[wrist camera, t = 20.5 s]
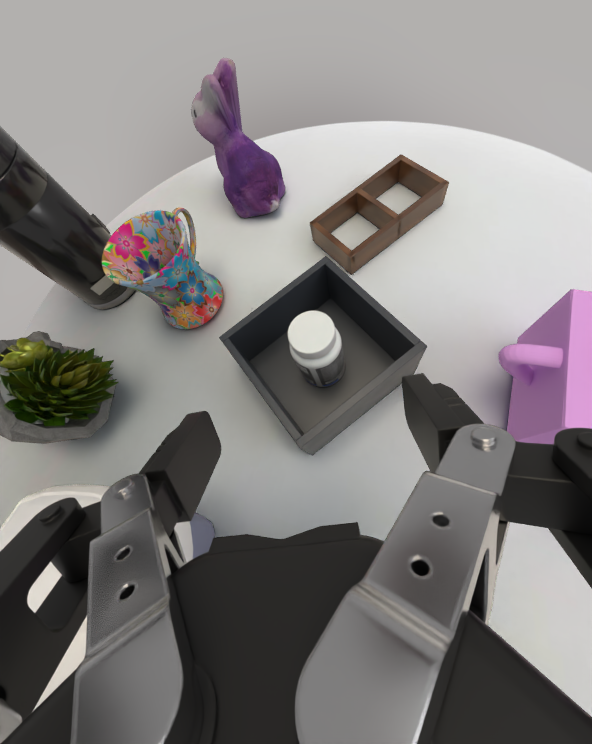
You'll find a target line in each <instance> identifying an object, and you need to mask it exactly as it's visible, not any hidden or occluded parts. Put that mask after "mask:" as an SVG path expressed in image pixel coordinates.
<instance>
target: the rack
mask: <svg viewBox="0 0 592 744" xmlns="http://www.w3.org/2000/svg"><path fill="white" fill-rule="evenodd" d="M397 182H399V183H401V184H402V185H404V186H406V187H407V188H409V189H410V190H412V191H413V192H415V193H417V194H418V195H420V196H421V198H420V199H419V200H418V201H416V202H415V203H414V204H412V205H411V206H410V207H408V208H407V209H406V210H404V211H403V212H402V213H401V214H399V215H398V214H396V213H395V212H394V211H392V210H391V209H389V208H388V207H386V206H385V205H383V204H382V203H381V202H379V201H378V200H376V198H377V197H378V196H380V195H381V194H382V193H384V192H385V191H386V190H388V189H389V188H390V187H392V186H393V185H394V184H396V183H397ZM448 184H449V182H448V181H446V180H444V179H443V178H441V177H439V176H437V175H436V174H434V173H432V172H431V171H429V170H427V169H425V168H424V167H422V166H420V165H419V164H417V163H415V162H413V161H412V160H410V159H408V158H407V157H405V156H403V155H399V156H398V157H397V158H395V159H394V160H393V161H391V162H390V163H389V164H387V165H386V166H385V167H383V168H382V169H381V170H379V171H378V172H377V173H375V174H374V175H373V176H371V177H370V178H369V179H367V180H366V181H365V182H363V183H362V184H361V185H359V186H358V187H357V188H355V189H354V190H353V191H351V192H350V193H349V194H347V195H346V196H345V197H343V198H342V199H341V200H339V201H338V202H337V203H335V204H334V205H333V206H331V207H330V208H329V209H327V210H326V211H325V212H323V213H322V214H321V215H319V216H318V217H317V218H315V219H314V220H313V221H311V222H310V227H311V232H312V237H313V241H314V242H315V243H316V244H317V245H318V246H320V247H321V248H322V249H323V250H324V251H325V252H326V253H328V254H329V255H330V256H331V257H332V258H333V259H334V260H336V261H337V262H338V263H339V264H340V265H341V266H342V267H343V268H345V269H346V270H347V271H348V272H349V273H350V274H353V273H354V272H356V271H357V270H358V269H359V268H361V267H362V266H363V265H364V264H366V263H367V262H368V261H370V260H371V259H372V258H374V257H375V256H376V255H377V254H379V253H380V252H381V251H383V250H384V249H385V248H387V247H388V246H389V245H390V244H392V243H393V242H394V241H396V240H397V239H398V238H399V237H401V236H402V235H403V234H405V233H406V232H407V231H409V230H410V229H411V228H412V227H414V226H415V225H416V224H418V223H419V222H420V221H422V220H423V219H424V218H425V217H427V216H428V215H429V214H431V213H432V212H433V211H435V210H436V209H437V208H438V207H440V206H441V205H442V204H443V201H444V198H445V195H446V191H447V188H448ZM357 212H358V213H359V214H361V215H362V216H363V217H365V218H366V219H367V220H369V221H370V222H371V223H373V224H374V225H375V226H377V227H378V228H379V229H380V230H378V231H377V232H376V233H374V234H373V235H372V236H370V237H369V238H368V239H367V240H365V241H364V242H363V243H361V244H360V245H359V246H357V247H356V248H355V249H354V250H352V251H351V250H350V249H349V248H347V247H346V246H345V245H344V244H343V243H341V242H340V241H339V240H338V239H337V238H335V237H334V236H333V235H332V234H331V232H332V231H333V230H335V229H336V228H337V227H339V226H340V225H341V224H343V223H344V222H345V221H347V220H348V219H349V218H351V217H352V216H353V215H355V214H356V213H357Z"/></svg>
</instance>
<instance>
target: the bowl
mask: <svg viewBox="0 0 592 744" xmlns="http://www.w3.org/2000/svg"><path fill="white" fill-rule="evenodd" d="M109 488H110V487H108V486H104V485H86V484H76V485H60V486H54V487H51V488H48V489H44V490H41V491H38V492H35V493H33V494H31V495H29V496H27V497H25V498H24V499H22V500H21V501H20V502H19V503H18V504H17V505H16V507H15V508H14V510H13V511H12V513H11V514H10V515H9V517H8V518H7V520H6V521H5V522H4V524H3V525H2V527H1V529H0V551H1V550H2V549H3V548H4V547H5V546H6V545H7V544H8V543H9V542H10V541H11V540H12V539H13V538H14V537H15V536H16V535H17V534H18V533H19V532H20V531H21V529H22V528H23V527H24V526H25V525H26V524H27V523H28V522H29V521H30V520H31V519H32V518H33V517H34V516H35V515H36V514H38V513H39V512H40V511H41V510H43V509H44V508H46V507H47V506H49V505H51V504H52V503H54V502H56V501H59V500H61V499H64V498H69V497H73V498H75V499H76V500H77V501H78V502H79V504H80V505H81V507H82V508H83V507H86V506H88V505H91V504H94V503H97V502H99V501H101V498H102V496H103V494H104V493H105V492H106V491H107V490H108V489H109ZM174 529H175V531H176V532H177V534H178V537H179V540H180V543H181V546H182V549H183V552H184V556H185V559H186V562H189V561H190V560H192V559H194V558H195V557H197V556H199V555H201V554H204V553H206V552H209V549H210V546H211V543H212V540H213V538H215V533H214V527H213V524H212V523H211V522H210V521H209V520H208V519H206V518H205V517H204V516H201V515H199V514H197V513H195V514H194V516H193V518H192V520H191V521H189V522H180V523H176V525H175V527H174ZM61 576H62V575H61V574H60V572H59V571H58V570H57V569H56V567H55V566H54V565H53V564H52V563H51V562H50V563H49V564H48V566H47V567H46V568H45V569H44V571H43V572H42V573H41V575H40V576H39V577H38V578H37V580H36V581H35V582H34V584H33V585H32V587H31V588H30V590H29V593H28V597H27V603H28V606H29V607H30V609H31V610H32V611H33V612H34V613H35V612H36V611H37V610H38V608H39V607H40V605H41V604H42V603H43V601H44V600H45V598H46V597H47V596H48V594H49V593H50V591H51V590H52V588H53V587H54V586H55V584H56V583H57V581H58V580H59V579H60V577H61ZM86 630H87V616H86V618H85V620H84V621H83V623H82V625H81V627H80V629H79V630H78V632H77V634H76V636H75V637H74V639H73V641H72V643H71V644H70V646H69V648H68V650H67V651H66V653H65V655H64V657H63V659H62V660H61V662H60V664H59V666H58V667H57V669H56V671H55V673H54V674H53V676H52V678H51V680H50V682H49V683H48V685H47V687H46V689H45V690H44V692H43V694H42V696H41V697H40V699H39V701H38V703H37V705H36V706H35V708H34V710H35V709H36V708H37V707H38V706H39V705H40V704H41V703H42V702H43V701H44V700H45V699H46V698H47V697H48V696H49V695H50V694H51V693H52V692H53V691H54V690H55V689H56V688H57V687H58V686H59V685H60V684H61V683H62V682H63V681H64V680H65V679H66V678H67V677H68V676H69V675H70V674H71V673H72V672H73V671H74V670H76V669H77V668H78V666H79V664H80V663H81V662H82V661H83V659H84V657H85V653H86ZM34 710H33V711H34Z"/></svg>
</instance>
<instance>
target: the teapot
mask: <svg viewBox="0 0 592 744" xmlns="http://www.w3.org/2000/svg"><path fill="white" fill-rule="evenodd" d="M499 362H500V364H501V366H502V367H503V368H504V369H505V370H506V371H507V372H508V373H509V374H511V375H512V376H513V383H512V392H511V401H510V409H509V418H508V427H507V432H508V433H510V434H511V435H512V436H513V438H514V439H515V441H518V442H525V443H539V444H554V438H555V435H556V434H557V433H558V432H560V431H562V430H565V429H569V428H590V429H592V292H589V291H581V290H575V289H572V290H570V291H569V292H568V293H566V294H565V295H564V296H563V297H562V298H561V299H560V300H559V301H558V302H557V303H556V304H555V305H553V306H552V307H551V308H550V309H549V310H548V311H547V312H546V313H545V314H544V315H543V316H541V317H540V318H539V319H538V320H537V321H536V322H535V323H534V324H533V325H532V326H531V327H529V328H528V329H527V330H526V331H525V332H524V333H523V334H522V335H521V336H520V337H519V338H518V342H517V344H513V345H508V346H505V347H504V348H502V349H501V351H500V352H499Z"/></svg>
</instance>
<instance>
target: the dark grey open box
mask: <svg viewBox="0 0 592 744" xmlns="http://www.w3.org/2000/svg"><path fill="white" fill-rule="evenodd" d="M307 311H320V312H323V313H325V314H326V315H328V316H329V317H330V318H331V320H332V321H333V323H334V326H335V328H336V329H337V330H338V332H339V334H340V336H341V340H342V348H343V353H344V360H345V370H344V373H343V375H342V377H341V378H340V380H339V381H338V382H336V383H335V384H333V385H331V386H328V387H318V386H314V385H312V384H310V383H309V382H308V381H307V380H306V379H305V378H304V376H303V374H302V373H301V371H300V369H299V367H298V366H297V364H296V362H295V361H294V359H293V357H292V355H291V352H290V342H289V340H288V328H289V326H290V324H291V322H292V321H293V319H294V318H295V317H297V316H298V315H300V314H301V313H304V312H307ZM219 338H220V340H221V341H222V342H223V344H224V345H225V346H226V348H227V349H228V350H229V352H230V353H231V355H232V356H233V357H234V359H235V360H236V361H237V363H238V364H239V365H240V367H241V368H242V370H243V371H244V372H245V374H246V375H247V376H248V378H249V379H250V381H251V382H252V383H253V385H254V386H255V387H256V389H257V390H258V391H259V393H260V394H261V396H262V397H263V398H264V400H265V401H266V402H267V404H268V405H269V407H270V408H271V409H272V411H273V412H274V413H275V415H276V416H277V417H278V419H279V420H280V422H281V423H282V424H283V426H284V427H285V428H286V430H287V431H288V433H289V434H290V435H291V437H292V438H293V439H294V441H296V444H297V445H298V446H299V448H300V449H302V450H304V451H306V452H307V453H309V454H311V455H314V454H315V453H316V452H317V451H319V450H320V449H321V448H322V447H324V446H325V445H326V444H327V443H329V442H330V441H331V440H332V439H333V438H335V437H336V436H337V435H338V434H340V433H341V432H342V431H343V430H345V429H346V428H347V427H348V426H350V425H351V424H352V423H353V422H354V421H356V420H357V419H358V418H359V417H361V416H362V415H363V414H364V413H366V412H367V411H368V410H369V409H371V408H372V407H373V406H374V405H375V404H377V403H378V402H379V401H380V400H382V399H383V398H384V397H385V396H387V395H388V394H389V393H390V392H392V391H393V390H394V389H395V388H396V387H398V386H399V385H400V384H401V383H402V377H404V376H409V375H413V374H414V372H415V370H416V368H417V366H418V364H419V362H420V360H421V358H422V356H423V354H424V352H425V350H426V348H427V345H425V344H424V343H423V342H422V341H421V340H420V339H419V338H417V337H416V336H415V335H414V334H413V333H412V332H411V331H410V330H408V329H407V328H406V327H405V326H404V325H403V324H402V323H401V322H399V321H398V320H397V319H396V318H395V317H394V316H393V315H392V314H390V313H389V312H388V311H387V310H386V309H385V308H384V307H383V306H381V305H380V304H379V303H378V302H377V301H376V300H375V299H374V298H372V297H371V296H370V295H369V294H368V293H367V292H366V291H365V290H363V289H362V288H361V287H360V286H359V285H358V284H357V283H356V282H354V281H353V280H352V279H351V278H350V277H349V276H348V275H347V274H345V273H344V272H343V271H342V270H341V269H340V268H339V267H338V266H336V265H335V264H334V263H333V262H332V261H331V260H330V259H329V258H328V257H326V256H325V257H324V258H323V259H321V260H320V261H319V262H317V263H316V264H315V265H314V266H312V267H311V268H310V269H308V270H307V271H306V272H304V273H303V274H302V275H300V276H299V277H298V278H296V279H295V280H294V281H293V282H291V283H290V284H289V285H287V286H286V287H285V288H283V289H282V290H281V291H279V292H278V293H277V294H275V295H274V296H273V297H272V298H270V299H269V300H268V301H266V302H265V303H264V304H262V305H261V306H260V307H258V308H257V309H256V310H254V311H253V312H252V313H250V314H249V315H248V316H247V317H245V318H244V319H243V320H241V321H240V322H239V323H237V324H236V325H235V326H233V327H232V328H231V329H229V330H228V331H227V332H226V333H224V334H223V335H222V336H220V337H219Z"/></svg>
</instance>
